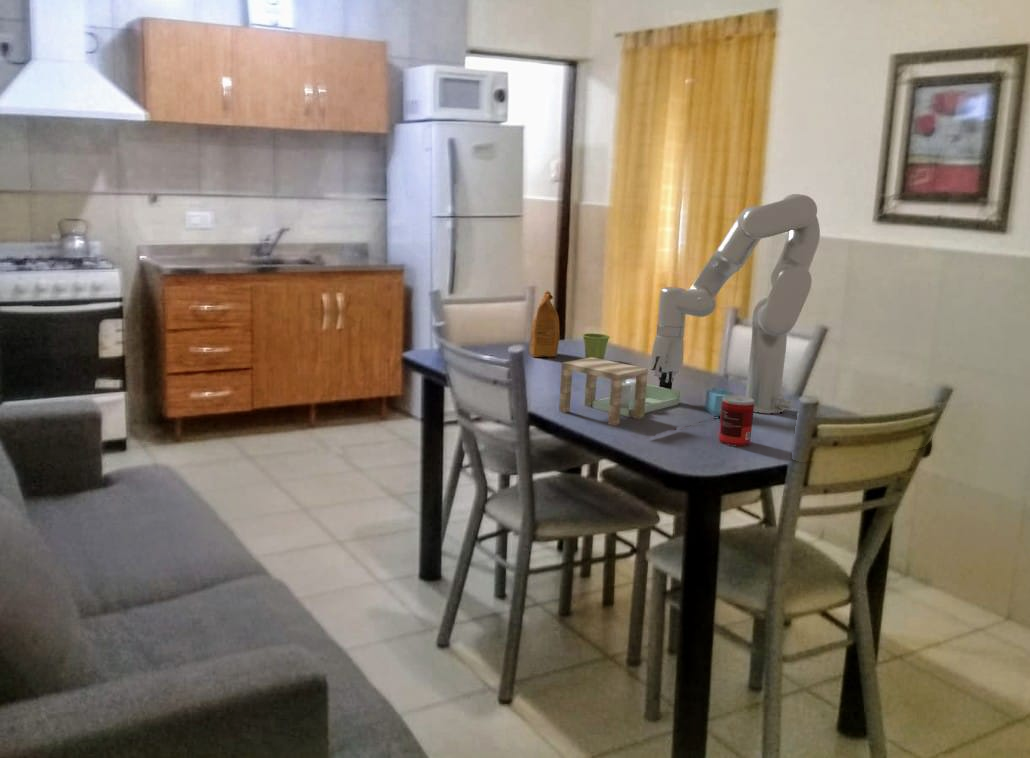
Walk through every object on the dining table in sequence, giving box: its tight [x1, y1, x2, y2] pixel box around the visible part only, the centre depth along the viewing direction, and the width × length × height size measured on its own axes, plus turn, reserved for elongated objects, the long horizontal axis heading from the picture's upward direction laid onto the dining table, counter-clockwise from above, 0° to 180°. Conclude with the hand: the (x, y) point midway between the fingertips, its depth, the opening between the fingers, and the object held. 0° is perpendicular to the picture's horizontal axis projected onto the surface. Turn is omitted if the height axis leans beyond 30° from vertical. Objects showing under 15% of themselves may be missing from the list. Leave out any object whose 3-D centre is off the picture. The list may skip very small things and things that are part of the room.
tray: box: [592, 383, 681, 418], centre depth 268 cm, size 12×24×4 cm, turn 139°
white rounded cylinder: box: [609, 382, 631, 409], centre depth 261 cm, size 5×5×7 cm
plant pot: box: [581, 332, 611, 360], centre depth 335 cm, size 9×9×9 cm
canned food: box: [718, 394, 755, 447], centre depth 238 cm, size 8×8×11 cm
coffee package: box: [529, 290, 561, 358], centre depth 337 cm, size 10×12×22 cm
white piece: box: [624, 378, 636, 409], centre depth 266 cm, size 5×5×7 cm
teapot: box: [704, 386, 736, 418], centre depth 266 cm, size 12×6×8 cm, turn 10°
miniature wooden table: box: [558, 357, 649, 427], centre depth 255 cm, size 18×13×14 cm
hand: (664, 394), depth 278 cm, fingers closed
